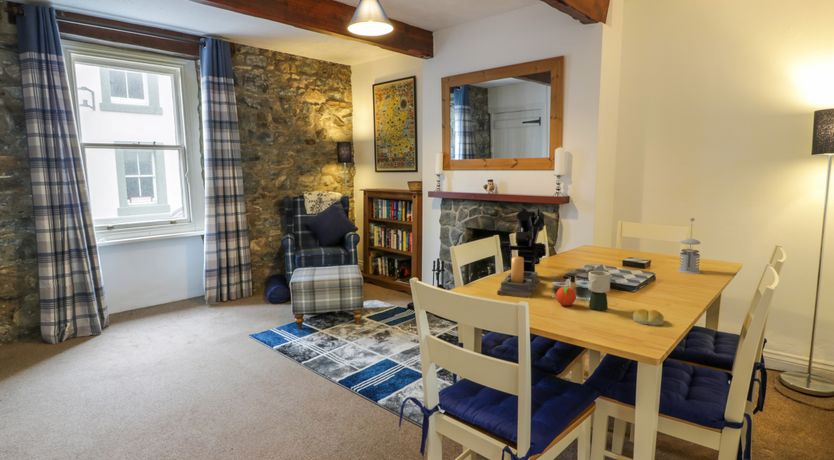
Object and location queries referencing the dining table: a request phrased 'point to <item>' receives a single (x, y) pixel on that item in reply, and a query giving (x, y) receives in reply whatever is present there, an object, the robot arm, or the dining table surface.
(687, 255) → the french press
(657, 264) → the dining table surface
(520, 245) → the robot arm
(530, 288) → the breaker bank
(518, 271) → the tan cylinder
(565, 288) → the tomato
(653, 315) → the bread roll
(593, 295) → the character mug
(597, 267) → the electrical switch
